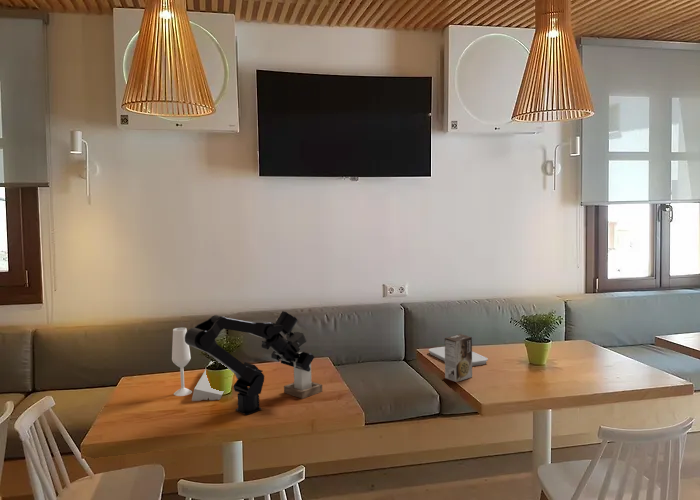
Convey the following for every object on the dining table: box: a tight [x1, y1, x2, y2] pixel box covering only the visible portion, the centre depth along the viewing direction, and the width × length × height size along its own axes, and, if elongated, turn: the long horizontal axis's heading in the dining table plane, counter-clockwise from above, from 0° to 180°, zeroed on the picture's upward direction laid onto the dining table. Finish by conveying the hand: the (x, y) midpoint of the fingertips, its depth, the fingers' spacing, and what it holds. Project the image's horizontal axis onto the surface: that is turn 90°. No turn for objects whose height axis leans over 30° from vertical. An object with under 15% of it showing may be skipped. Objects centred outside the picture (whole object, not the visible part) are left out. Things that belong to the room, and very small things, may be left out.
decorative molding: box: [191, 360, 225, 402], centre depth 218 cm, size 34×5×10 cm
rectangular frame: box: [283, 381, 323, 400], centre depth 207 cm, size 10×10×2 cm
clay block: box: [293, 351, 313, 390], centre depth 207 cm, size 4×4×12 cm
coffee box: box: [444, 333, 473, 383], centre depth 219 cm, size 9×6×16 cm
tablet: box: [428, 345, 489, 367], centre depth 246 cm, size 16×26×2 cm, turn 21°
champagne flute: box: [171, 327, 193, 397], centre depth 208 cm, size 7×7×24 cm
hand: (305, 369), depth 207 cm, fingers closed on clay block, 4 cm apart
